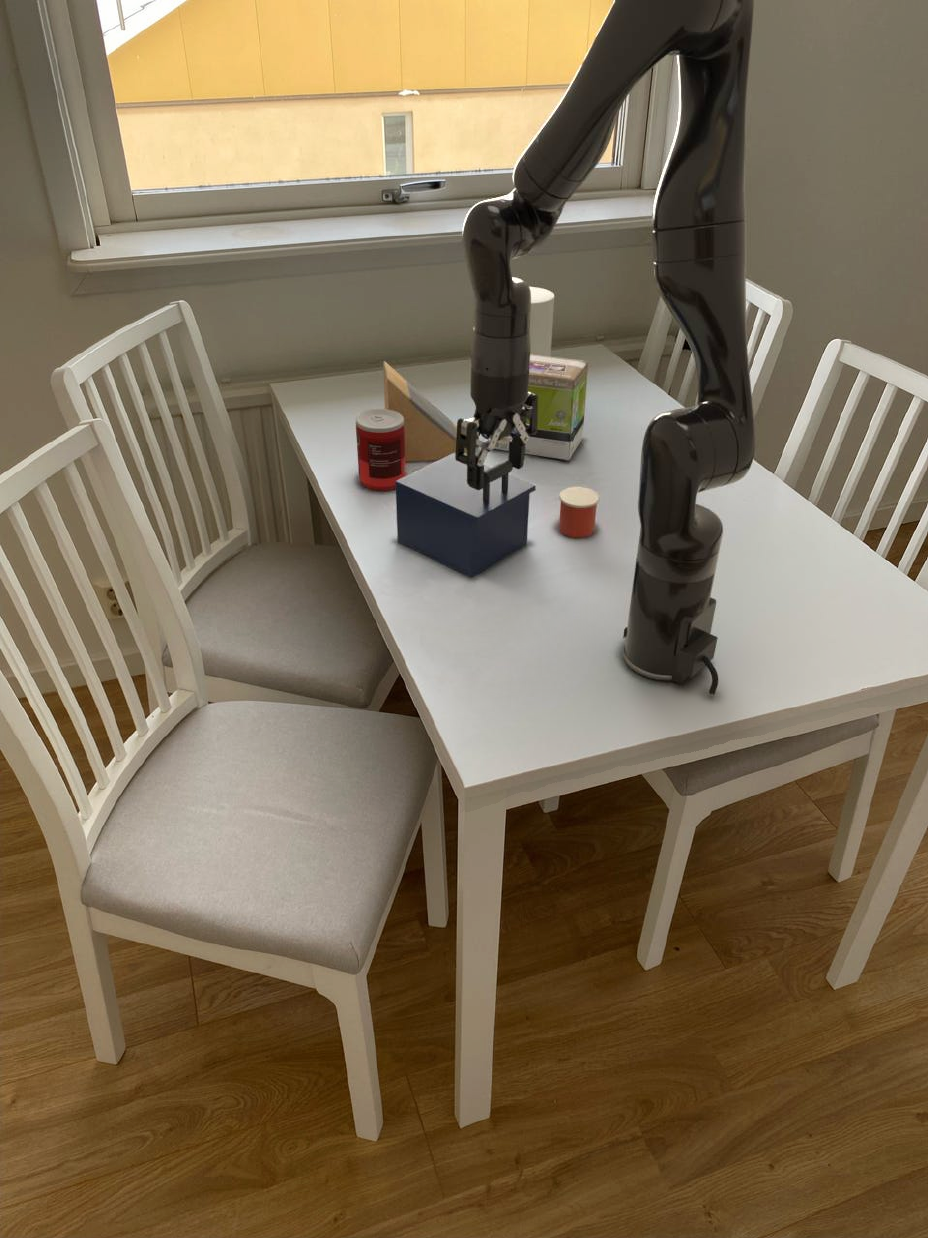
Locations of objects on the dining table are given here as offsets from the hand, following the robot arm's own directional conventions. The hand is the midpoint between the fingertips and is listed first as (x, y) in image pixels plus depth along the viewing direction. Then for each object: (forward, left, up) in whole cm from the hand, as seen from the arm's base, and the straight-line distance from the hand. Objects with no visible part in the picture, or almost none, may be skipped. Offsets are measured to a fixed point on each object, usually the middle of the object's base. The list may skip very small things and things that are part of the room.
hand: (496, 477), depth 133 cm
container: (+34, -49, -13) cm, 61 cm away
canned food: (+29, -6, -13) cm, 32 cm away
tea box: (+19, -34, -13) cm, 41 cm away
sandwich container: (+31, -20, -13) cm, 39 cm away
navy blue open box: (+6, 0, -13) cm, 14 cm away
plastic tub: (-4, -15, -13) cm, 20 cm away
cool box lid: (+5, 0, -4) cm, 7 cm away
